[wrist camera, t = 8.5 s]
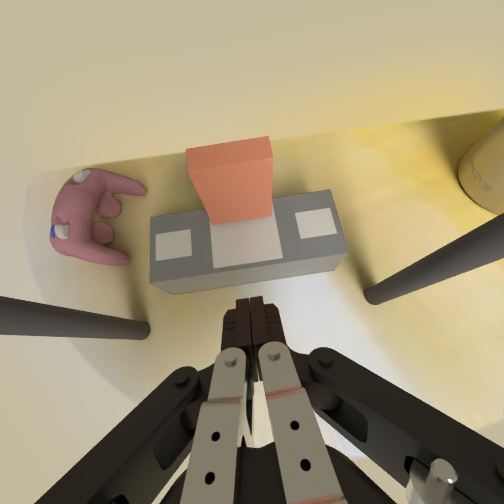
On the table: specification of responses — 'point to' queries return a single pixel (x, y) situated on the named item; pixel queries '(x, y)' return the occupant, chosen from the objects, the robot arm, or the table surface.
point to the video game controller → (90, 215)
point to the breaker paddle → (233, 179)
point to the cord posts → (405, 281)
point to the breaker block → (246, 245)
